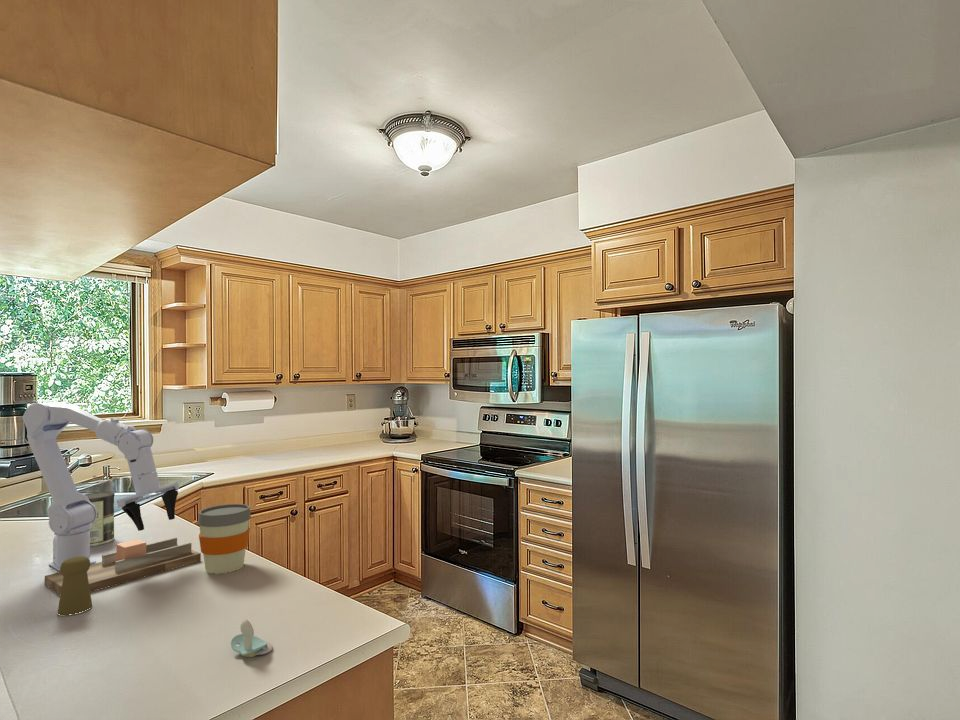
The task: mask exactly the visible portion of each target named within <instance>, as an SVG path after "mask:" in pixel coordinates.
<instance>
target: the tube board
mask: <svg viewBox="0 0 960 720" xmlns="http://www.w3.org/2000/svg"><path fill="white" fill-rule="evenodd" d="M201 554H202V552H198V551H196V550H192V542H188V543H187V542H186V543H182V544H178V537H172V538H168V539H164V540H159V541H155V542H152V543H148V544H147V543H146V554H143V555H139V556H135V557H131V558H127V559H123V560H119V561H116V551H114V552H110V553H106V554H103V555H101V561H99V562H96V563H93V564H90V567H89V570H88V571H87V575H88V582H89V588H90V591H93V592H95V591H94V590H96V591H98V590H97V589H100V590H102V589H101V588H103V589H106V588H105V587H107V588H109V587H108V586H110V587H113V586H112V585H114V586H116V585H115V584H117V585H120V584H119V583H121V584H123V583H122V582H124V583H127V582H126V581H128V582H131V581H134V580H133V579H135V580H138V579H142V578H145V577H144V576H146V577H149V576H152V574H153V575H156V574H160V573H162V571H163V572H167V571H169V569H170V570H173V569H172V568H174V569H177V568H180V566H181V567H184V566H187V564H188V565H191V564H194V562H195V563H197V561H198V562H201V561H200V560H202V557H201V556H202V555H201ZM190 563H191V564H190ZM183 565H184V566H183ZM176 567H177V568H176ZM166 570H167V571H166ZM159 572H160V573H159ZM155 573H156V574H155ZM148 575H149V576H148ZM141 577H142V578H141ZM137 578H138V579H137ZM130 580H131V581H130ZM62 582H63V575H62V574H61V572H60V571H58V572H56V573H51V574H47V575H44V585H45V584H46V585H47V587H48V586H49V587H50V588H49V587H48V588H49V589H51V588H52V589H53V590H52V589H51V590H52V591H54V592H55V593H57V592H58V593H57V594H59V595H60V594H61V588H62ZM46 585H45V586H46Z"/></svg>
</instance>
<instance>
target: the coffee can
mask: <svg viewBox="0 0 960 720" xmlns="http://www.w3.org/2000/svg"><path fill="white" fill-rule="evenodd" d="M84 495H86V496H87V497H88V499H89V501H90V502H91V503H92V504H93V505H94V506H95V507H96V509H97V518H96V520H95V521H94V522H93V523H92V527H91V528H90V547H95V546H100V545H101V546H102V545H104V544H108V543H110V542H113V541H114V540H115V492H113V491H99V492H97V491H96V492H90V493H84Z"/></svg>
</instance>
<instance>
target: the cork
mask: <svg viewBox="0 0 960 720" xmlns="http://www.w3.org/2000/svg"><path fill="white" fill-rule="evenodd" d="M90 565H91V564H90V560H89V559H88V558H87V557H83V556H81V557H73V558H69V559H67V560H65V561H64V562H62V564H61V567H60V571H59V572H61V574H62V575H63V582H62V588H61V594H59V595H60V596H59V602H58V608H57V613H58V614H60V615H69V614H75V613H79V612H82V611H85V610H87V609H89V608H91V607H92V608H93V602H92V596H91V592H90V588H89V582H88V575H87V571H88V570H89V567H90ZM92 608H91V609H92ZM89 610H90V609H89ZM85 612H86V611H85ZM58 614H57V615H58Z"/></svg>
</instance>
